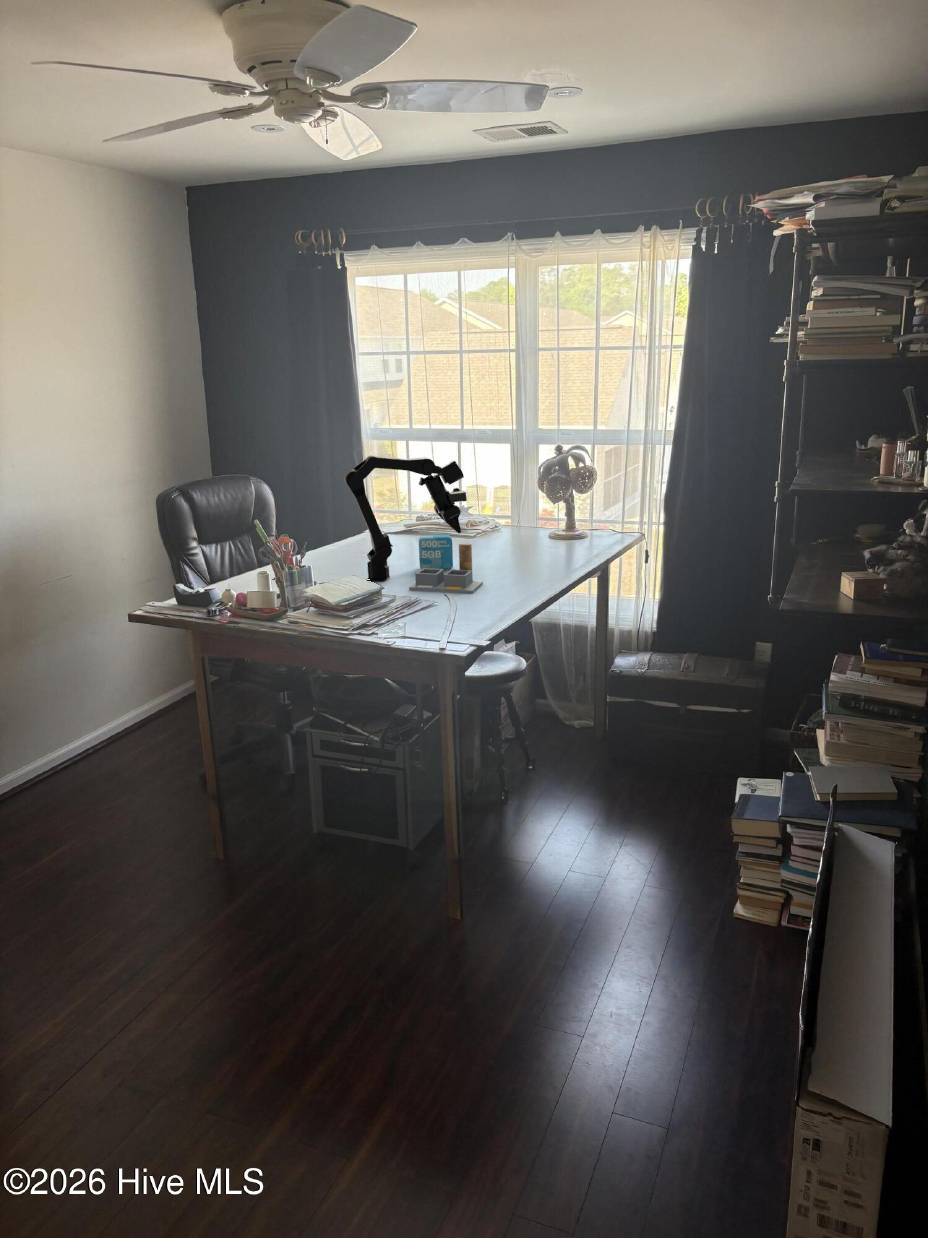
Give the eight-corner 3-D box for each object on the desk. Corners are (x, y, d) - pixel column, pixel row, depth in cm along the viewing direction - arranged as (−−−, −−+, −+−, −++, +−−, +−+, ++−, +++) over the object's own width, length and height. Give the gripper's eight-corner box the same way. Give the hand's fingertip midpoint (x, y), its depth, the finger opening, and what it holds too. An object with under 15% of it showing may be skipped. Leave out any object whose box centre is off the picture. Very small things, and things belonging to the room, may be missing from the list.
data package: (420, 571, 323) (418, 538, 319) (419, 568, 327) (418, 535, 324) (453, 569, 324) (452, 536, 320) (452, 566, 328) (451, 534, 325)
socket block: (409, 590, 297) (408, 575, 295) (421, 581, 308) (420, 567, 306) (472, 593, 290) (472, 578, 289) (482, 584, 301) (482, 570, 300)
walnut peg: (458, 579, 309) (457, 545, 305) (461, 576, 313) (461, 543, 309) (470, 580, 307) (469, 546, 304) (474, 577, 311) (473, 543, 308)
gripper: (463, 483, 301) (483, 524, 306) (453, 477, 318) (471, 516, 324) (434, 498, 300) (454, 539, 305) (425, 492, 318) (444, 530, 323)
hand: (457, 530), depth 314 cm, fingers open, 9 cm apart
